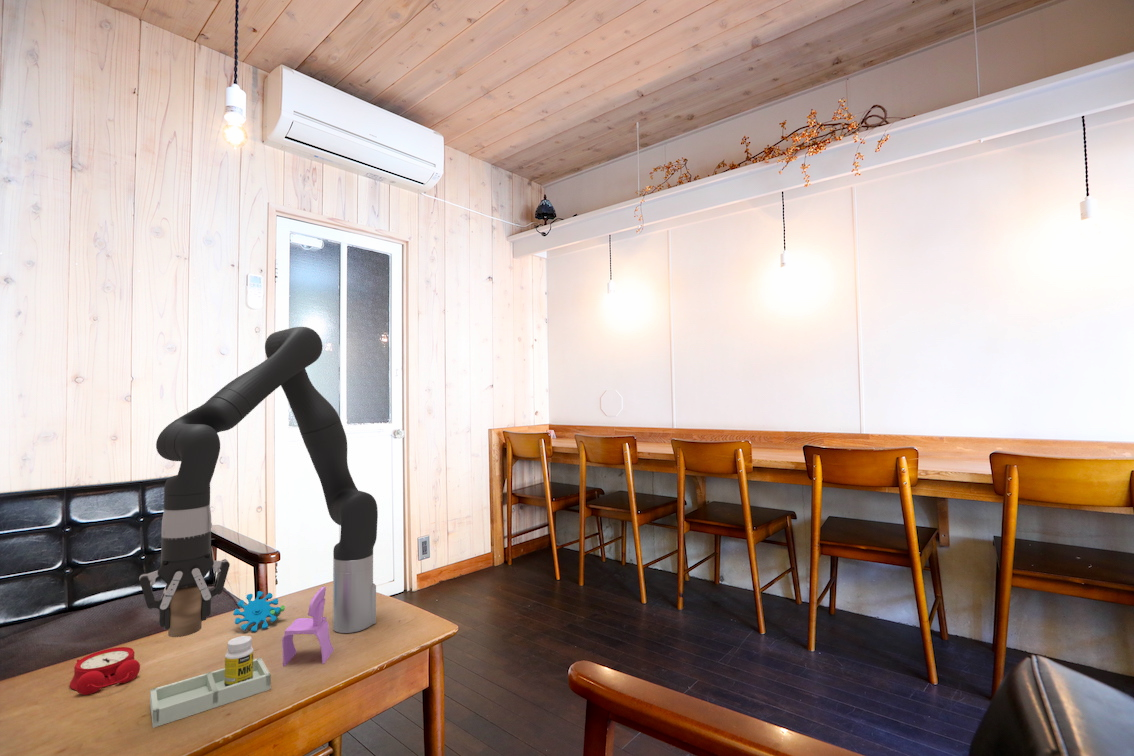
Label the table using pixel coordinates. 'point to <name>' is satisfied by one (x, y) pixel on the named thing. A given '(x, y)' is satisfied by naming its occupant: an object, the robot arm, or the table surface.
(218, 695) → the slot rack
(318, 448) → the robot arm
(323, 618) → the toy chair
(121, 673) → the alarm clock
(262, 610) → the gear
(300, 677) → the table surface
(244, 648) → the supplement bottle
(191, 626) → the walnut dowel
